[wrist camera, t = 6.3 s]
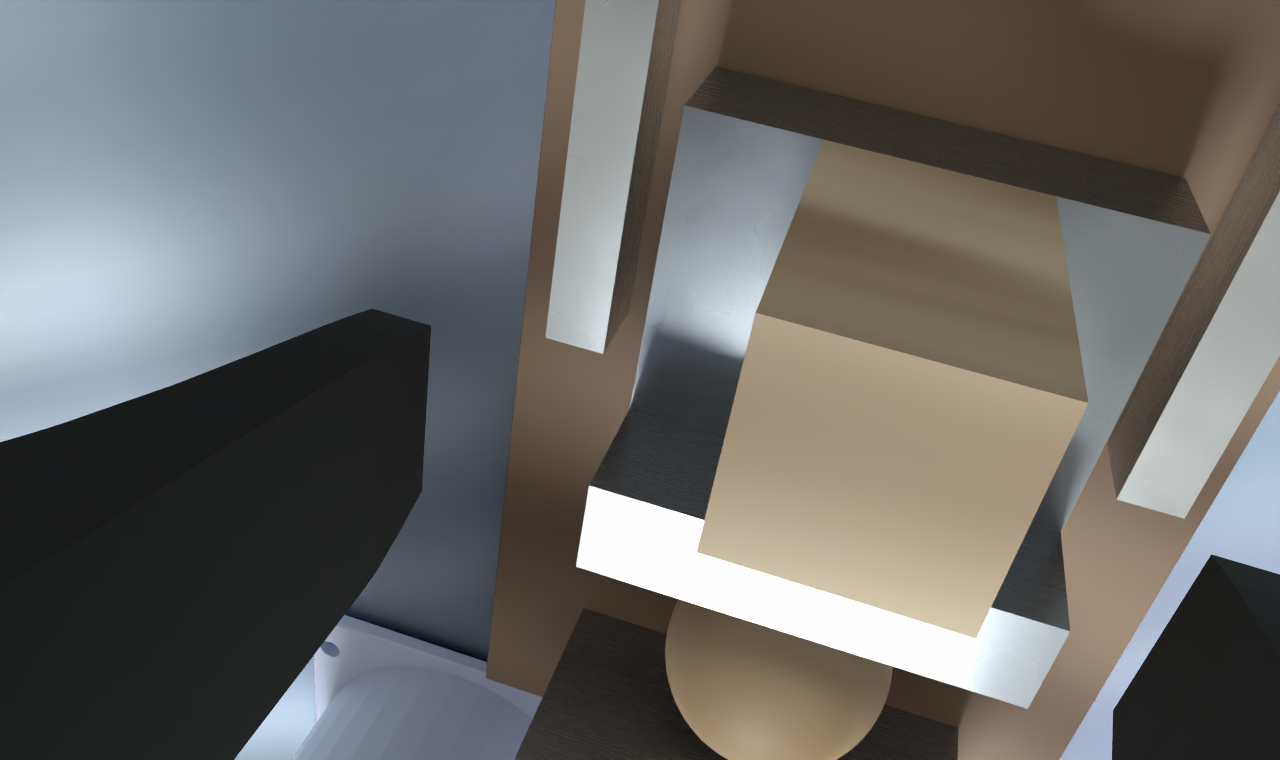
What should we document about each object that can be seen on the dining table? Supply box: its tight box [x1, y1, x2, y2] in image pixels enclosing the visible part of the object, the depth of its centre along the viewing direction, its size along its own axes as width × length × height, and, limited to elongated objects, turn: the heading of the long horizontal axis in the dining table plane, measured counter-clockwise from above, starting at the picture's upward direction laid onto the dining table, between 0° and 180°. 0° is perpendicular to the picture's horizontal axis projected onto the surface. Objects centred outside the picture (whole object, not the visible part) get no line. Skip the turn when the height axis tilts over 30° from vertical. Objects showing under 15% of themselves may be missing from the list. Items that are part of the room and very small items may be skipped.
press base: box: [486, 0, 1280, 760], centre depth 16 cm, size 22×12×6 cm, turn 171°
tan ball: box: [665, 599, 893, 760], centre depth 19 cm, size 4×4×4 cm
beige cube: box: [576, 67, 1211, 709], centre depth 14 cm, size 7×7×7 cm
